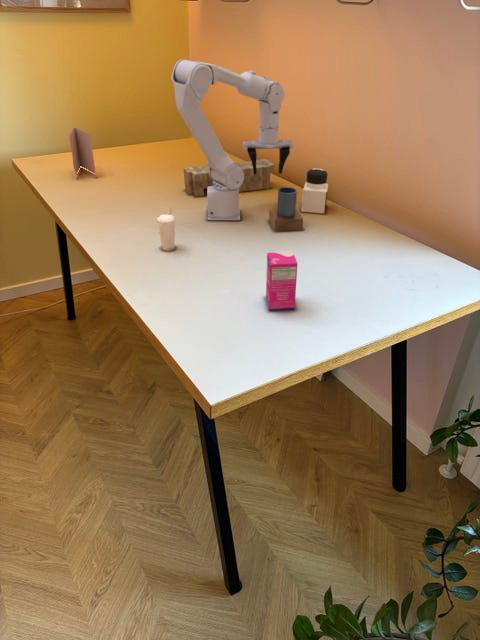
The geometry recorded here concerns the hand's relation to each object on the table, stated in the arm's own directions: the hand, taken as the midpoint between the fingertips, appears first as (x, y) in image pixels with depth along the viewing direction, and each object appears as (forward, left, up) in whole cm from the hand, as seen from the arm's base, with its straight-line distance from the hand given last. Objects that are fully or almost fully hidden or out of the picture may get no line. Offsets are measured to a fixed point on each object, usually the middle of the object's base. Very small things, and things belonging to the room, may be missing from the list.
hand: (267, 172), depth 157 cm
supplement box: (0, -58, -11) cm, 59 cm away
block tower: (-12, +15, -11) cm, 22 cm away
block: (+5, -15, -10) cm, 19 cm away
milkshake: (-27, -30, -11) cm, 42 cm away
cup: (+5, -15, -7) cm, 17 cm away
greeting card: (-62, +29, -11) cm, 70 cm away
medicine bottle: (+15, -2, -11) cm, 18 cm away
